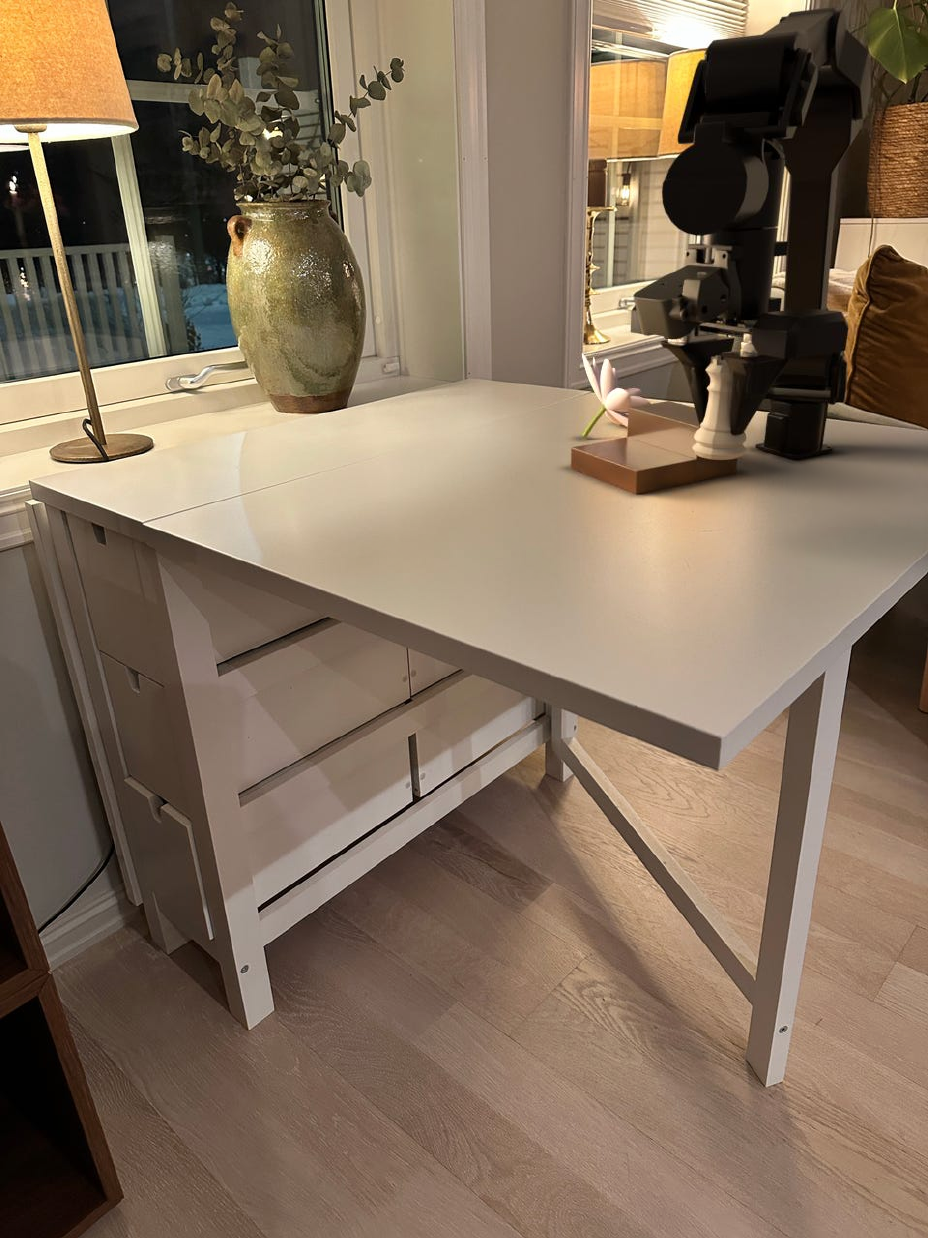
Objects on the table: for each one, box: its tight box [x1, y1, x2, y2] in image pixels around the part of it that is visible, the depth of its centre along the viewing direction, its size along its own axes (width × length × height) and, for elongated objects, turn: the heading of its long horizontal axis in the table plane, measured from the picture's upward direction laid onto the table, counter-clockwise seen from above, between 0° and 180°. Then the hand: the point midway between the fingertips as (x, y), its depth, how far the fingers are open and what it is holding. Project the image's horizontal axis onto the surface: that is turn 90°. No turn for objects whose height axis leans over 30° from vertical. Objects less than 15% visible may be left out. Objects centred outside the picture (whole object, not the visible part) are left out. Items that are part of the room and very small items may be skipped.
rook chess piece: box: [692, 355, 747, 460], centre depth 74 cm, size 4×4×8 cm
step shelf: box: [570, 400, 738, 495], centre depth 99 cm, size 14×12×6 cm
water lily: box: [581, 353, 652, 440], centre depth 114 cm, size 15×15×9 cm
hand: (720, 430), depth 75 cm, fingers closed on rook chess piece, 3 cm apart
